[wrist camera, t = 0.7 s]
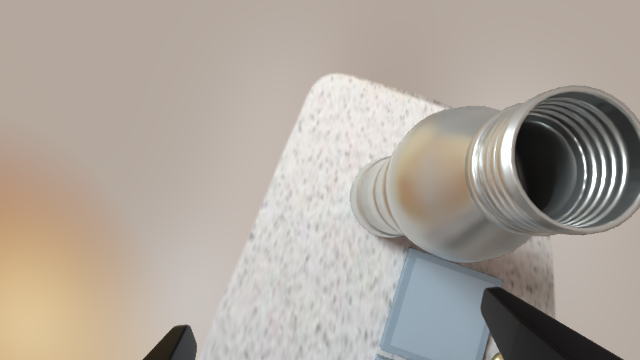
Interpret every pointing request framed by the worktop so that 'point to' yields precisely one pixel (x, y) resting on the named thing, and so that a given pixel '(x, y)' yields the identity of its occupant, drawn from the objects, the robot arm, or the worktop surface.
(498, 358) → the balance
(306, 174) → the worktop surface
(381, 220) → the silver ridged hollow container
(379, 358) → the pale blue glass sheet
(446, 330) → the flat blue-gray rectangular plate
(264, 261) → the worktop surface
